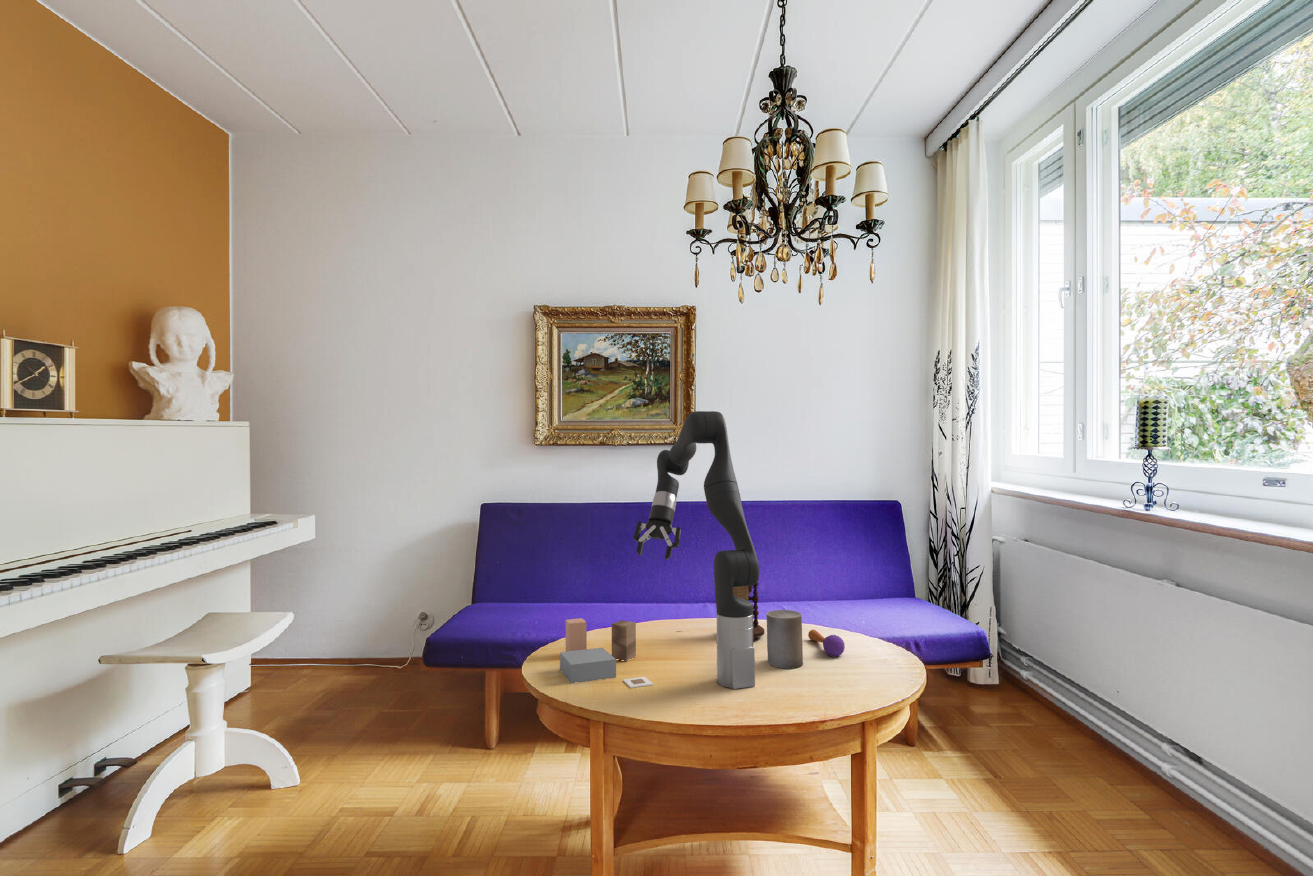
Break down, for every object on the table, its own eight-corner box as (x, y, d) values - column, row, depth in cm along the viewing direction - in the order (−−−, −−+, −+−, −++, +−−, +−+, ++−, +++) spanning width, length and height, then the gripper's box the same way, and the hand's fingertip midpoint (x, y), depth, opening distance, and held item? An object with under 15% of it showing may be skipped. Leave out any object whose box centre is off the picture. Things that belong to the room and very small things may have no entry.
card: (653, 685, 162) (653, 683, 162) (630, 688, 160) (630, 686, 160) (645, 677, 168) (645, 676, 168) (623, 680, 165) (623, 679, 165)
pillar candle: (801, 658, 183) (799, 605, 184) (804, 669, 173) (803, 612, 174) (766, 658, 184) (765, 605, 185) (768, 668, 175) (766, 612, 175)
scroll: (713, 641, 202) (712, 576, 203) (723, 629, 216) (722, 569, 217) (760, 645, 197) (759, 579, 198) (767, 633, 211) (766, 571, 212)
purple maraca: (823, 626, 204) (849, 638, 184) (821, 646, 203) (846, 660, 183) (805, 623, 203) (829, 635, 183) (802, 643, 202) (826, 657, 183)
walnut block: (635, 657, 185) (635, 622, 186) (626, 662, 181) (626, 626, 181) (621, 655, 188) (621, 620, 188) (611, 659, 183) (611, 624, 184)
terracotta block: (586, 657, 186) (586, 622, 187) (569, 659, 184) (569, 623, 185) (582, 652, 191) (582, 618, 191) (565, 654, 189) (565, 619, 189)
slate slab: (616, 678, 168) (616, 659, 168) (571, 684, 164) (571, 664, 164) (602, 665, 179) (602, 647, 179) (560, 671, 175) (560, 652, 175)
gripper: (639, 501, 204) (628, 549, 197) (683, 507, 201) (674, 556, 194) (643, 510, 211) (632, 557, 203) (686, 516, 207) (676, 564, 200)
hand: (652, 557), depth 199 cm, fingers open, 8 cm apart
